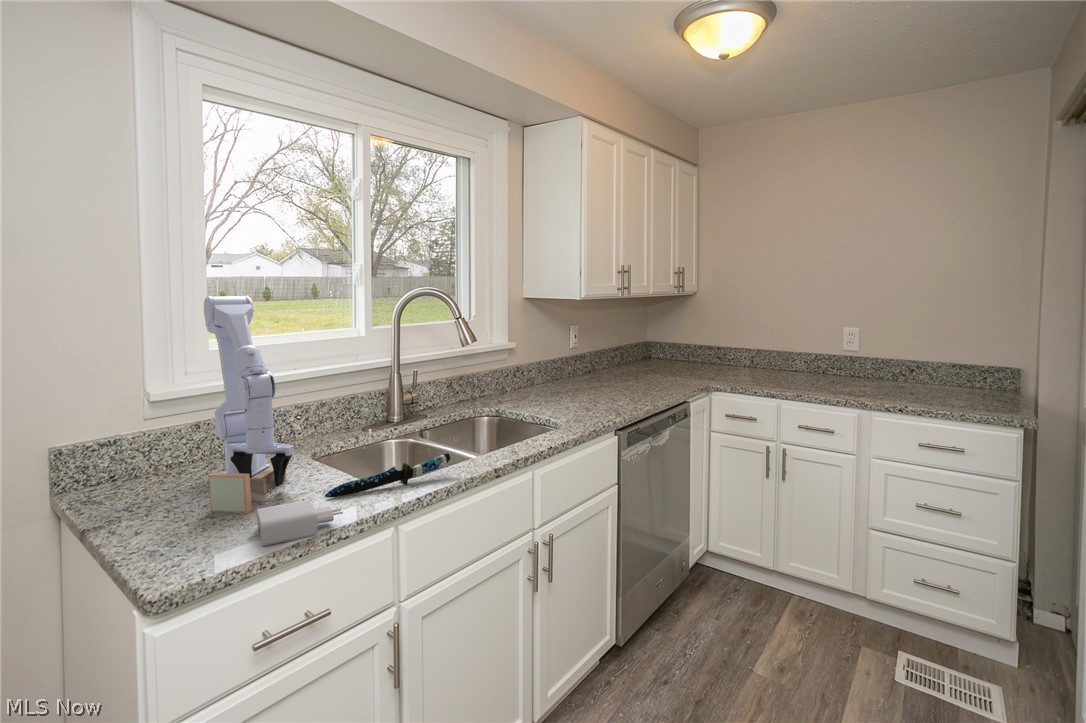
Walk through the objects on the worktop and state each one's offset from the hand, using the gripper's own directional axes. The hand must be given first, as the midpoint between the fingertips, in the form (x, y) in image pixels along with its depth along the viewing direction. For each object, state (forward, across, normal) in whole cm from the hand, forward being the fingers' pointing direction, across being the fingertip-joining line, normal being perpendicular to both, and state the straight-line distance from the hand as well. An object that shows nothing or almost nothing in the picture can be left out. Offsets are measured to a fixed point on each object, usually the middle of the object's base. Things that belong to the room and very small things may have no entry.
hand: (263, 484), depth 134 cm
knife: (+2, +28, +6) cm, 29 cm away
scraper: (+2, 0, 0) cm, 2 cm away
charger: (+2, +19, -19) cm, 27 cm away
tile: (+2, 0, -12) cm, 12 cm away
